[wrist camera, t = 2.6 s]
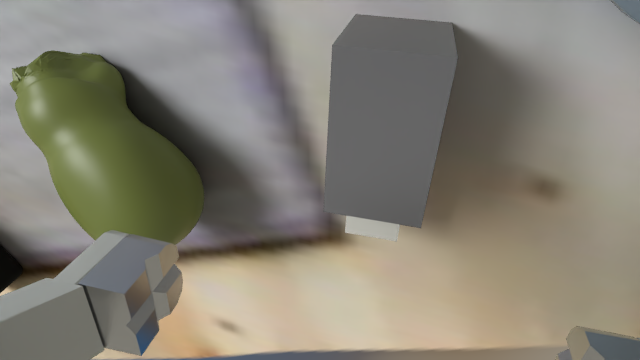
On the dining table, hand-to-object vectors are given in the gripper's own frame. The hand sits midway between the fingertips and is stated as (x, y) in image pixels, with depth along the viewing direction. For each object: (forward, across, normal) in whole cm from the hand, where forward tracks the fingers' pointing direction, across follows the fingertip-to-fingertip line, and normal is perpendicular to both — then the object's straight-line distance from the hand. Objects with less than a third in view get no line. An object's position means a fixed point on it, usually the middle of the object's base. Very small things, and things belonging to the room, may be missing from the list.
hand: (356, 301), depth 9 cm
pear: (+11, +12, +3) cm, 17 cm away
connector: (+10, 0, 0) cm, 10 cm away
